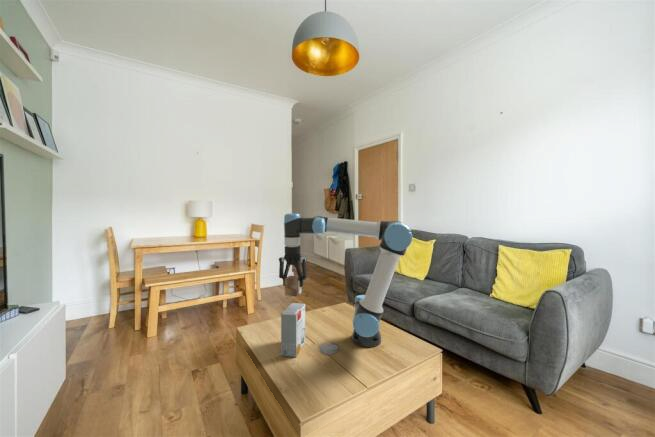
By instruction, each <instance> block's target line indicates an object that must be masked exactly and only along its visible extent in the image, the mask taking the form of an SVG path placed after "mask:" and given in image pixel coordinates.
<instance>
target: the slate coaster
mask: <svg viewBox="0 0 655 437" xmlns="http://www.w3.org/2000/svg"><path fill="white" fill-rule="evenodd" d="M319 351H320V353H322V354H324V355H333V354H336V353H337V352H339V347H338V346H337V344H334V343H331V342H330V343H324V344H321V345H320V347H319Z"/></svg>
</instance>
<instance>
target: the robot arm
mask: <svg viewBox="0 0 655 437" xmlns="http://www.w3.org/2000/svg"><path fill="white" fill-rule="evenodd" d="M283 216H284V218H283V228H284V233H283V234H284V236H283V238H284V256H281V257H278V261H279V271H278V272H279V273H278V274H279V275H278V278H279V279H282V285H283V287H285V278H287V277H288V276H289V275H288V274H289V271H290V268H291V265H292V266H294V267H295V270H296V274H297V276H298V277H299V280H298V294H299V295H300V294H301V293H302V288H303V286H304V280H306V279H307V278H308V275H307V272H308V271H307V259H308V258H306V257H302V256H301V246H300V245H301V234H313V235H314V234H316V235H318V234H324V233H336V234H345V235H350V236H351V235H352V236H360V237H361V236H362V237H369V238H375V239H376V240H378V241H380V244H379V246H378V247H379V250H380V253H379V256H378V259H377V262H376V265H375V267H374V270H373V273H372V275H371V278H370V280H369V284H368V287H367V289H366V292H365V294H359V295H357V296H355V298H354V299H355V300H354V302H355V305H354V306H355V307H354V313H353V318H352V326H353V330H352V332H351V340H352V342H353V343H354V345H356V346H359V347H362V348H363V347H364V348H374V347H377V346H379V345H380V344H381V343H382V334H381V331H380V327H381V326H380V321H381V318H382V316H383V314H384V308H383V304H384V301H385V298H386V296H387V293H388V289H389V288H390V284H391V281H392V279H393V276H394V274H395V271H396V268H397V266H398V264H399V261H400V258H403V257H404V256H405V254H406V251H407V249H408V248H409V247H410V245H411V244H412V242H413V234H412V230H411V228H410V227H409V226H408V225H407V224H406V223H403V222H401V221H399V220H378V221H377V222H376V221H368V220H367V221H366V220H357V219H356V220H355V219H347V218H339V217H337V218H336V217H327V216H322V215H316V216H313V217H301V215H300V213H286V214H284V215H283ZM285 262H286V264H285ZM300 262H301V263H300ZM300 264H301V266H300ZM284 267H285V268H284Z"/></svg>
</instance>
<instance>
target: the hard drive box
mask: <svg viewBox="0 0 655 437" xmlns="http://www.w3.org/2000/svg"><path fill="white" fill-rule="evenodd" d="M280 322H281V324H280V330H281V331H280V355H281V356H282V357H290V358H291V357H293V358H297V356H298V355H299V353H300V352H301V350H302V348H303V346H304V344H305V342H306V304H305V303H298V302H297V303H296V302H291V303H290V304H289V306H288V307H286V309H285V310H284V311H283V312H282V313H281V314H280Z"/></svg>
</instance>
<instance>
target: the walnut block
mask: <svg viewBox="0 0 655 437" xmlns="http://www.w3.org/2000/svg"><path fill="white" fill-rule="evenodd" d="M298 280H299V277H298V275H287V278H285V286H284V296H287V297H289V296H290V297H298V296H299V295H300V294H298Z"/></svg>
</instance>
